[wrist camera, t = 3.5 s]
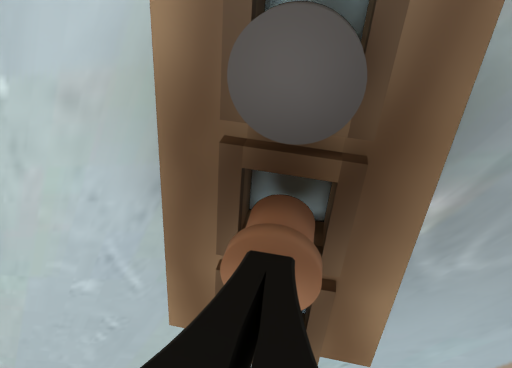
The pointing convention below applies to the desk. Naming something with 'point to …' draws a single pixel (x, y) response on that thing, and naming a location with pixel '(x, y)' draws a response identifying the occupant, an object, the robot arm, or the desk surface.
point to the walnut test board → (313, 155)
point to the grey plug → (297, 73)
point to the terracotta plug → (280, 242)
